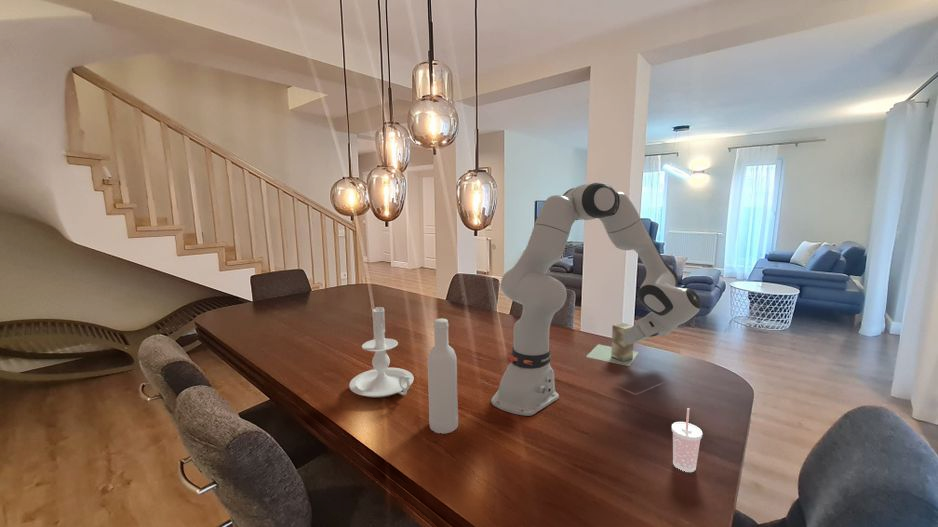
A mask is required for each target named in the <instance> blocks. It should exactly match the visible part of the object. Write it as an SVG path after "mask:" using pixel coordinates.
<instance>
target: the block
mask: <svg viewBox="0 0 938 527" xmlns="http://www.w3.org/2000/svg"><path fill="white" fill-rule="evenodd" d="M633 326H634V325H632V324H629V323H624V322H619V323H615V324H612V331H611V332H612V335H611V347H612V350H611V358H614V359H616V360H619V361H621V362H626V361H629V360H631V359H633V351H634V344H629V345H628V344H627V343H626V341H625V340H624V338H623V335H624V334H625V333H626V332H627V331H628V330H629V329H630V328H631V327H633Z"/></svg>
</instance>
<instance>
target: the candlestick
mask: <svg viewBox="0 0 938 527" xmlns="http://www.w3.org/2000/svg"><path fill="white" fill-rule="evenodd" d="M371 311H372V326H373V328H372V329H373V330H372V331H373V339H371V340H368V341H365V342H364V343H363V344H362V345H361V348H362V349H363V350H364V351H368V352H374V355H373V357H372V360H371V364H372V367H373V368H372V369H370V370H367V371H364V372H361V373H359V374H358V375H355V376H354V377H353V378H352V379H351V380H350V381H349V384H348V388H349V389H350V391H351V392H353V393H354V394H356V395H359V396H363V397H368V398H384V397H385V398H386V397H390V396H393V395H396V394H399V395H401V396H406V395H407V393H408V390H409V389H410V387H411V385H412V384H413V382H414V379H415V377H414V375H413V373H411V372H410V371H408V370H406V369H404V368H399V367H389V366H390V362H391V359H390V357H389V355H388V354H387V351H389V350H392V349H394V348H395V347H397V346H398V344H399V342H398V340H396V339H393V338H386V337H385V333H386V321H385V320H386V317H385V315H386V314H385V308H384V307H383V306H377V307H374V309H372V310H371Z"/></svg>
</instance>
